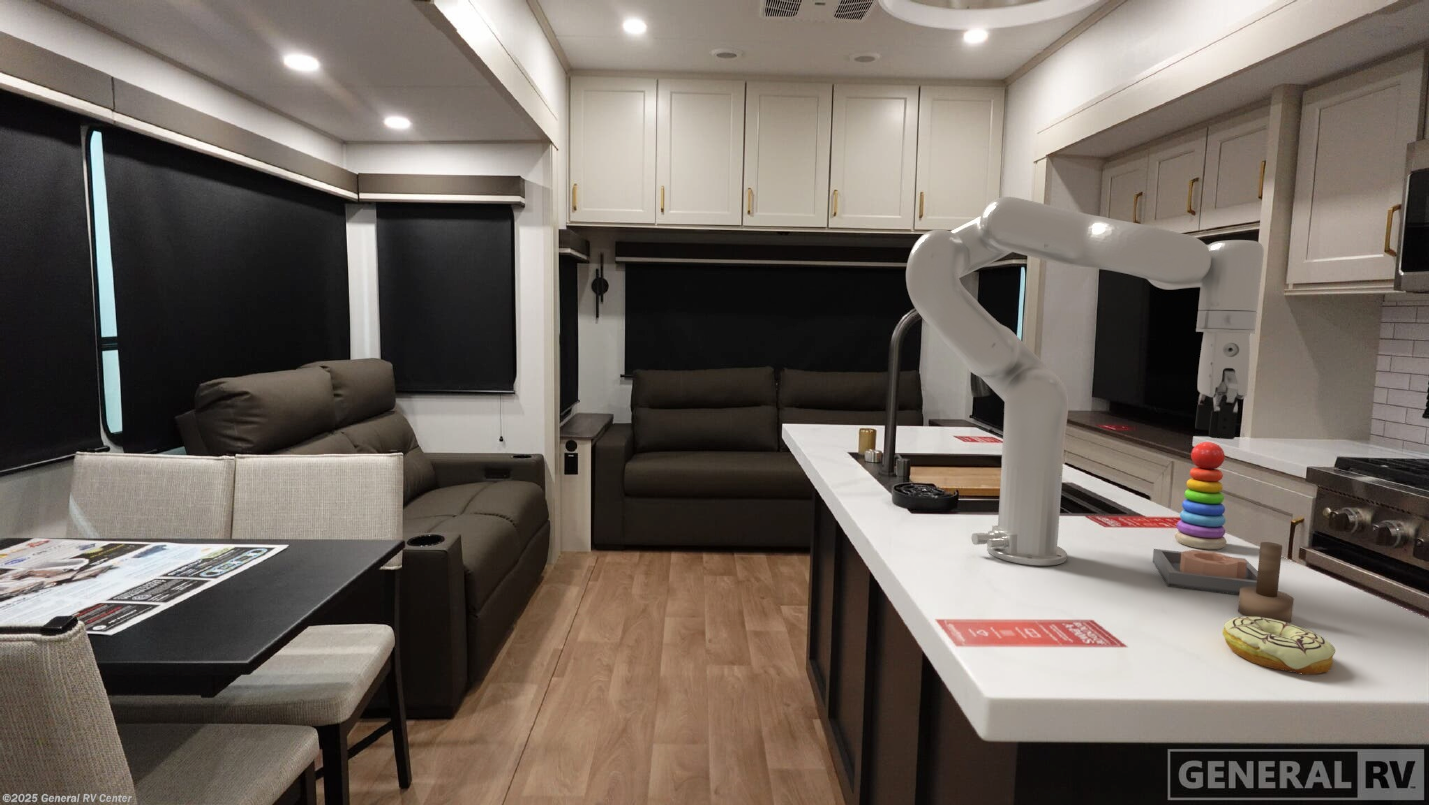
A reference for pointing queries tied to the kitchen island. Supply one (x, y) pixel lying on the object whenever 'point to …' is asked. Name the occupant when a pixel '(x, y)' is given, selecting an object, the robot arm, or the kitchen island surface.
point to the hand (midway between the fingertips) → (1213, 433)
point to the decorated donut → (1278, 645)
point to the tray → (1199, 575)
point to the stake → (1267, 588)
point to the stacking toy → (1203, 501)
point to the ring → (1212, 564)
